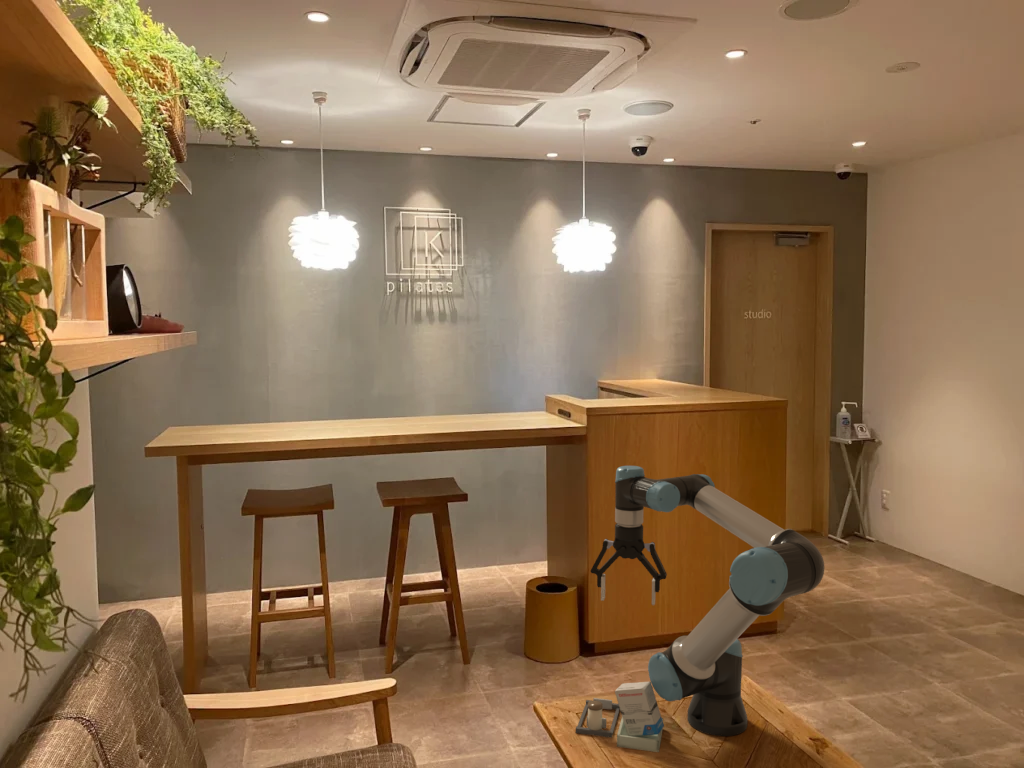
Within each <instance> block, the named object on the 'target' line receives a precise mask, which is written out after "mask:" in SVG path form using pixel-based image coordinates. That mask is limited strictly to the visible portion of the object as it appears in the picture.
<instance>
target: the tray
mask: <svg viewBox="0 0 1024 768" xmlns="http://www.w3.org/2000/svg"><path fill="white" fill-rule="evenodd" d="M662 721H663V722H664V718H663V717H662ZM663 730H664V727H663V728H662V730H661V731H660V733H659V734H657V735H638V736H628V734H627V731H626V727H625V724H624V721H623V717H622V716H621V720H620V723H619V727H618V730H617V735H616V747H617V748H625V749H631V750H639V751H640V750H641V751H647V752H652V753H653V752H654V753H660V748H661V744H662V743H661V742H662V736H663Z"/></svg>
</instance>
